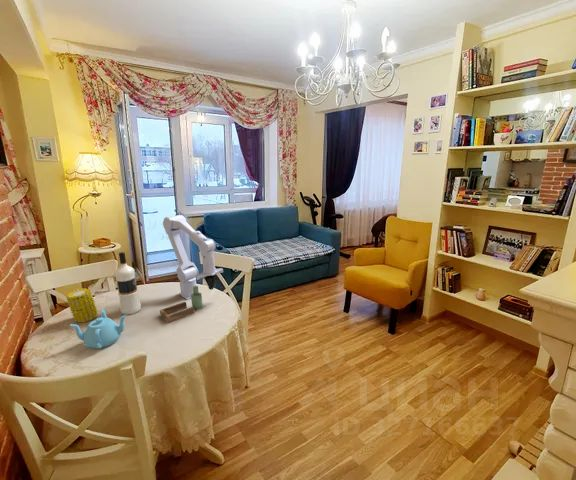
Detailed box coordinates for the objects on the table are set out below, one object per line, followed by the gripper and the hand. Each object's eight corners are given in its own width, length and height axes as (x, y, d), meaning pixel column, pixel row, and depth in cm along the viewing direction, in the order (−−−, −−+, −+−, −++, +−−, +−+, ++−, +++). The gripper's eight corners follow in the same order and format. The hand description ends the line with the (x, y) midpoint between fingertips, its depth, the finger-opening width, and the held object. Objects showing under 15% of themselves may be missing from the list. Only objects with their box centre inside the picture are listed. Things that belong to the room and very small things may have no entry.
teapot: (97, 356, 113) (92, 332, 110) (72, 346, 119) (67, 323, 116) (131, 336, 126) (127, 314, 123) (107, 328, 132) (103, 307, 129)
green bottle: (190, 307, 150) (188, 287, 147) (199, 304, 153) (197, 284, 150) (195, 310, 146) (193, 290, 144) (204, 307, 150) (202, 287, 147)
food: (102, 318, 144) (80, 329, 135) (87, 308, 148) (65, 318, 140) (99, 291, 138) (76, 301, 129) (84, 282, 142) (60, 291, 134)
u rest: (160, 315, 142) (159, 310, 141) (185, 306, 150) (185, 301, 150) (168, 323, 135) (167, 317, 135) (194, 313, 144) (193, 307, 143)
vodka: (118, 310, 148) (108, 252, 140) (138, 304, 154) (130, 248, 146) (122, 317, 141) (112, 256, 133) (143, 311, 147) (134, 252, 139)
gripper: (199, 269, 142) (201, 295, 146) (225, 262, 152) (227, 286, 155) (192, 265, 147) (195, 291, 151) (218, 259, 157) (220, 283, 160)
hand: (211, 288), depth 153 cm, fingers closed
